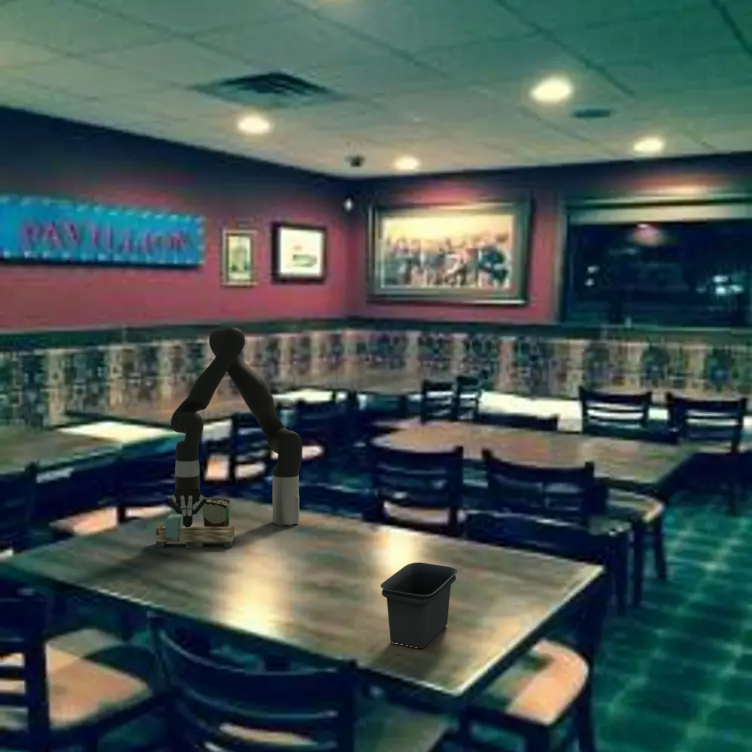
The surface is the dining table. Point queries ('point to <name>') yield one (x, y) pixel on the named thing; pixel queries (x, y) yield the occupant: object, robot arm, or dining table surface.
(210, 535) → the beam
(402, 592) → the storage bin
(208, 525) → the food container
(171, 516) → the rider
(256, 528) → the dining table surface
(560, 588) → the dining table surface
